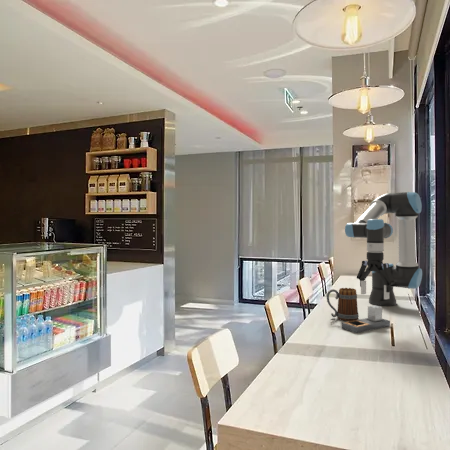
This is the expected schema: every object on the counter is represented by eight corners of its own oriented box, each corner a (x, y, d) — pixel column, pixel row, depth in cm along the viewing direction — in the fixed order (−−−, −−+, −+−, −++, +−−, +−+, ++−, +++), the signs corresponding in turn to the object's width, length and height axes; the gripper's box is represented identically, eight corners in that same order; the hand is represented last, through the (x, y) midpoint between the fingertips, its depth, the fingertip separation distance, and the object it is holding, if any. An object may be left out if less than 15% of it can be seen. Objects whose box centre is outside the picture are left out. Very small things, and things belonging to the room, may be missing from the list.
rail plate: (374, 321, 197) (374, 316, 197) (390, 326, 189) (390, 320, 189) (341, 328, 187) (341, 322, 187) (356, 333, 179) (356, 327, 179)
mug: (355, 316, 208) (355, 287, 207) (360, 321, 197) (360, 291, 197) (325, 315, 209) (325, 287, 209) (328, 321, 199) (328, 291, 198)
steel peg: (374, 323, 194) (374, 305, 194) (382, 325, 190) (382, 306, 190) (367, 324, 192) (367, 306, 191) (375, 327, 188) (375, 308, 187)
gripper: (349, 250, 199) (349, 292, 199) (391, 254, 177) (391, 302, 177) (360, 249, 202) (360, 291, 203) (403, 253, 181) (402, 300, 181)
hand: (374, 296), depth 190 cm, fingers open, 13 cm apart
